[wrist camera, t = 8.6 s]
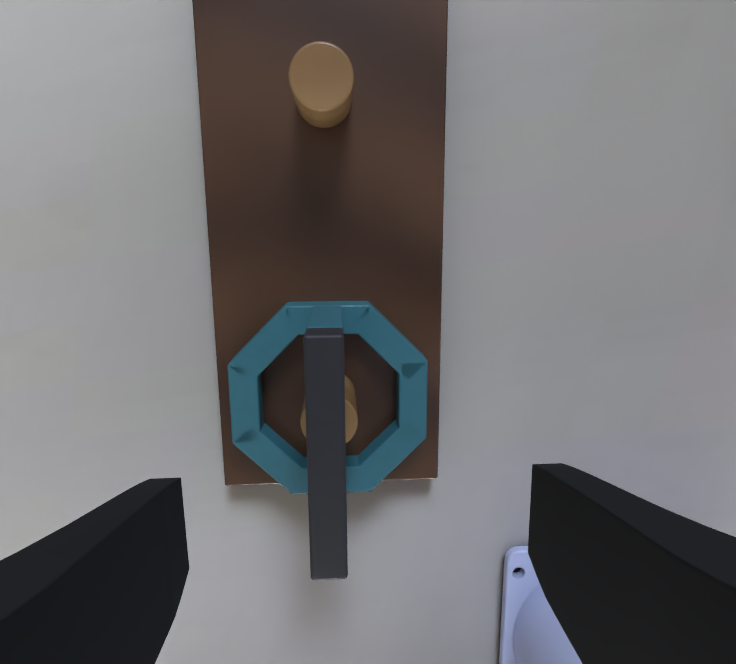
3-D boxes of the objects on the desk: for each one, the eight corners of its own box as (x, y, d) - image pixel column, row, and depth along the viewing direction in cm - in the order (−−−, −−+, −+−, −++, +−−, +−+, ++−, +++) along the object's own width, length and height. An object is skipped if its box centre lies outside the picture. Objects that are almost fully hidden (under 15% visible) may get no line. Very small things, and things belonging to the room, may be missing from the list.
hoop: (421, 477, 20) (453, 576, 14) (240, 482, 20) (201, 586, 14) (424, 299, 19) (461, 332, 13) (229, 302, 18) (181, 337, 13)
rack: (433, 467, 21) (453, 519, 17) (230, 473, 21) (206, 529, 17) (442, -6, 18) (470, -67, 14) (198, -10, 17) (160, -74, 13)
